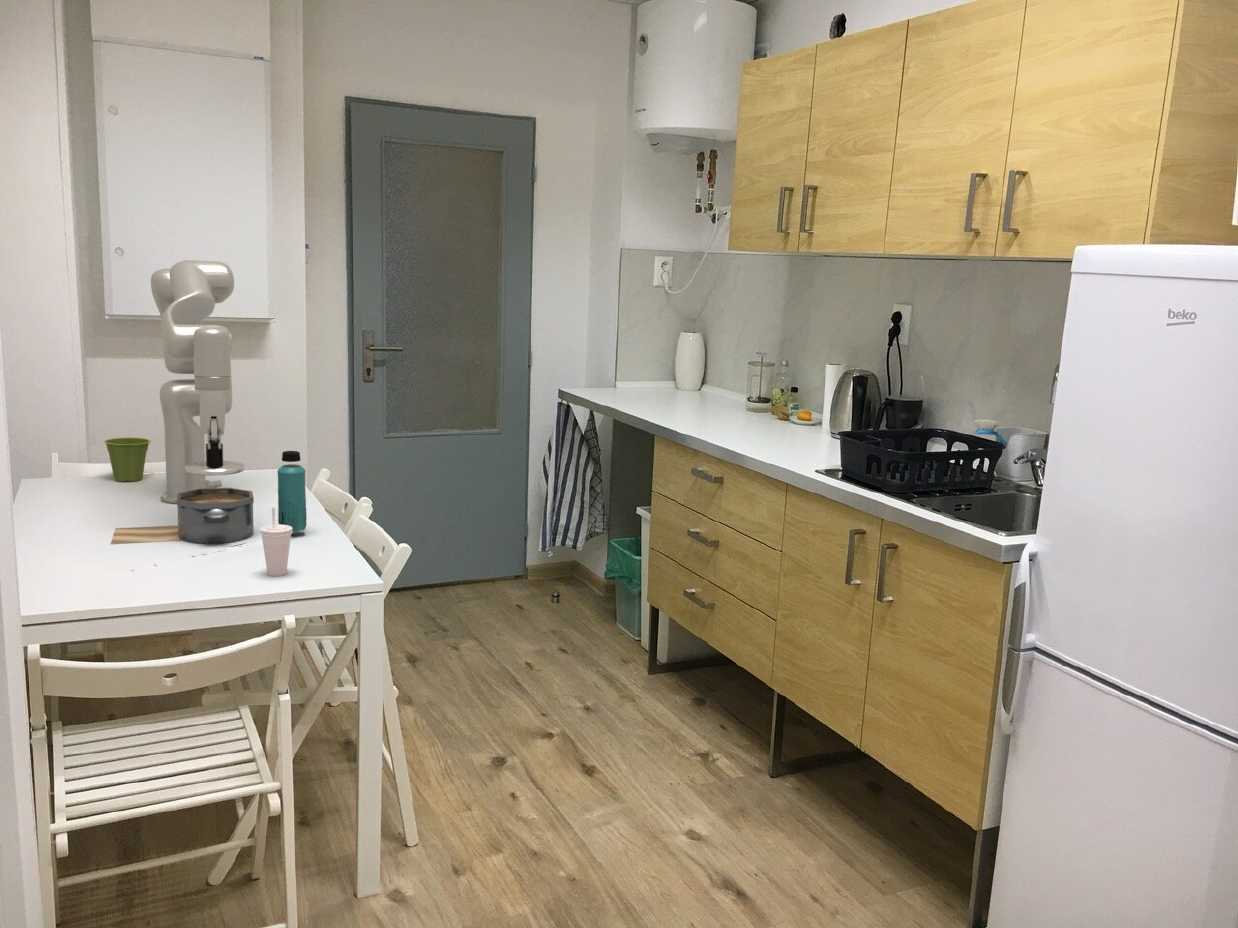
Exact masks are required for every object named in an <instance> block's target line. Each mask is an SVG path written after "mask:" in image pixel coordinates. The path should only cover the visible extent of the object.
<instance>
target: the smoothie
mask: <svg viewBox="0 0 1238 928" xmlns="http://www.w3.org/2000/svg"><path fill="white" fill-rule="evenodd" d="M259 529H260V530H259V531H260V532H259V534H260V535H261V538H262V544H263V546H262V547H263V553H264V561H265V566H266V573H267V575H268V576H269V577H282V576H285V575H286V574H287V571H288V563H289V562H288V561H289V554H290V546H291V537H292V534H293V533H294V532H293V531H292V527H291V526H288V525H280V524H279V523H278V524H276V507H275V506H272V507H271V524H268V525H264V526H262V527H260V528H259Z"/></svg>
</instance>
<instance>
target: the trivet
mask: <svg viewBox="0 0 1238 928" xmlns="http://www.w3.org/2000/svg"><path fill="white" fill-rule="evenodd" d="M181 541H182V540H180V539H179V537H178V525H159V526H139V527H138V526H136V527H134V526H133V527H115V529H114V532H113V535H112V538H111V541H110V545H123V544H145V543H165V542H168V543H169V542H181Z"/></svg>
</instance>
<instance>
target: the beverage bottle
mask: <svg viewBox="0 0 1238 928" xmlns="http://www.w3.org/2000/svg"><path fill="white" fill-rule="evenodd" d="M300 453H301V452H300V451H297V450H285V451H282V453H281V461H282V462H286V463H291V464H283V465H281V466H280V467H279V468H278V469H277V508H278V509H277V523H278V524H280V525H288V526H291V527H292V531H293V533H295V532H300V531H305V530H306V528H307V526H308V525H307V520H308V519H307V496H306V469H305V468H304V467H303V466H302V465H300V464H293V463H295V462H296V463H298V462H301V454H300Z"/></svg>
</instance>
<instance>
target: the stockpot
mask: <svg viewBox="0 0 1238 928" xmlns="http://www.w3.org/2000/svg"><path fill="white" fill-rule="evenodd" d="M254 498H255V497H254V494H253V490H245V489H240V488H234V487H218V488H203V489H196V490H191V491H187V492H183V493H178V494H177V503H176V508H177V526H178V537H179V539H180V540H181V541H182V542H184V543H189V544H193V545H194V544H195V545H223V544H232V543H238V542H241V541H245V540H248V539H250V538H252V537H253V536H254V501H255V500H254ZM244 544H245V545H246V544H247V542H245V543H241V544H235V545H231V546H230V548H232V547H233V548H234V547H238V546H242V545H244Z"/></svg>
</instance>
